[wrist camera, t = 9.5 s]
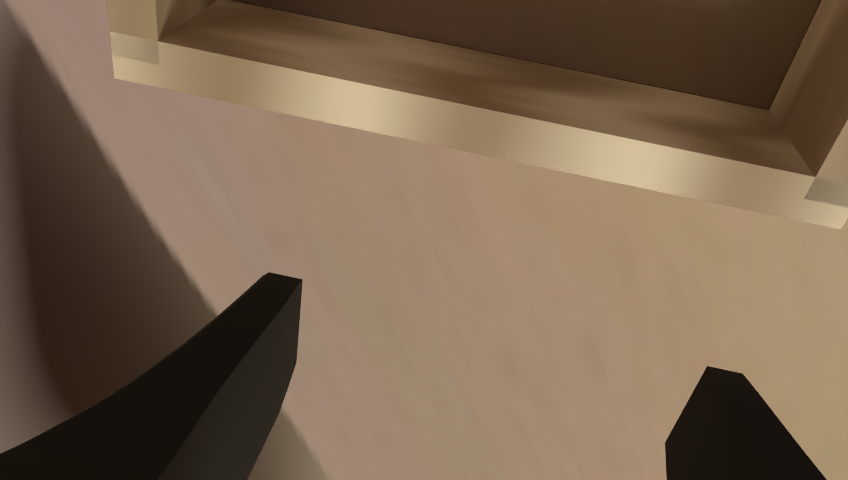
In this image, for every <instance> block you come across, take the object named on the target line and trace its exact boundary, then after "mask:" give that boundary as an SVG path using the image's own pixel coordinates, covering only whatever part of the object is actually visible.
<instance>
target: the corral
mask: <svg viewBox="0 0 848 480" xmlns="http://www.w3.org/2000/svg"><path fill="white" fill-rule="evenodd" d="M107 8H108V18H109V28H110V38H111V48H112V58H113V67H114V77H115V78H116V79H121V80H125V81H130V82H135V83H140V84H145V85H149V86H154V87H159V88H164V89H169V90H173V91H178V92H183V93H188V94H193V95H197V96H202V97H207V98H212V99H217V100H222V101H226V102H231V103H236V104H241V105H246V106H250V107H255V108H260V109H265V110H270V111H274V112H279V113H284V114H289V115H294V116H298V117H303V118H308V119H313V120H318V121H322V122H327V123H332V124H337V125H342V126H346V127H351V128H356V129H361V130H366V131H370V132H375V133H380V134H385V135H390V136H394V137H399V138H404V139H409V140H414V141H419V142H423V143H428V144H433V145H438V146H443V147H447V148H452V149H457V150H462V151H467V152H471V153H476V154H481V155H486V156H491V157H495V158H500V159H505V160H510V161H515V162H519V163H524V164H529V165H534V166H539V167H543V168H548V169H553V170H558V171H563V172H567V173H572V174H577V175H582V176H587V177H591V178H596V179H601V180H606V181H611V182H615V183H620V184H625V185H630V186H635V187H640V188H644V189H649V190H654V191H659V192H664V193H668V194H673V195H678V196H683V197H688V198H692V199H697V200H702V201H707V202H712V203H716V204H721V205H726V206H731V207H736V208H740V209H745V210H750V211H755V212H760V213H764V214H769V215H774V216H779V217H784V218H788V219H793V220H798V221H803V222H808V223H812V224H817V225H822V226H827V227H832V228H837V229H841V228H842V227H843V225H844V223H845V222H846V220H847V218H848V0H822V1H821V3H820V5H819V7H818V9H817V11H816V13H815V15H814V17H813V20H812V22H811V24H810V26H809V28H808V30H807V32H806V34H805V36H804V38H803V40H802V42H801V45H800V47H799V49H798V51H797V53H796V55H795V57H794V59H793V61H792V63H791V65H790V68H789V70H788V72H787V74H786V76H785V78H784V80H783V82H782V84H781V86H780V88H779V90H778V93H777V95H776V97H775V99H774V101H773V103H772V105H771V107H770V109H769V110H765V109H760V108H755V107H750V106H745V105H740V104H736V103H731V102H726V101H721V100H716V99H711V98H706V97H701V96H696V95H692V94H687V93H682V92H677V91H672V90H667V89H662V88H657V87H652V86H647V85H643V84H638V83H633V82H628V81H623V80H618V79H613V78H608V77H603V76H599V75H594V74H589V73H584V72H579V71H574V70H569V69H564V68H559V67H555V66H550V65H545V64H540V63H535V62H530V61H525V60H520V59H515V58H510V57H506V56H501V55H496V54H491V53H486V52H481V51H476V50H471V49H466V48H462V47H457V46H452V45H447V44H442V43H437V42H432V41H427V40H422V39H418V38H413V37H408V36H403V35H398V34H393V33H388V32H383V31H378V30H374V29H369V28H364V27H359V26H354V25H349V24H344V23H339V22H334V21H329V20H325V19H320V18H315V17H310V16H305V15H300V14H295V13H290V12H285V11H281V10H276V9H271V8H266V7H261V6H256V5H251V4H246V3H241V2H237V1H232V0H107Z"/></svg>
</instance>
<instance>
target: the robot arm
mask: <svg viewBox="0 0 848 480" xmlns="http://www.w3.org/2000/svg"><path fill="white" fill-rule="evenodd" d="M301 292H302V279H298V278H293V277H288V276H284V275H279V274H274V273H270V272H269V273H267V274H265V275H264V276H262V277H261V278H260V279H259V280H258V281H257V282H256V283H254V284H253V285H252V286H251V287H250V288H249V289H248V290H247V291H246V292H245V293H243V294H242V295H241V296H240V297H239V298H238V299H237V300H236V301H234V302H233V303H232V304H231V305H230V306H229V307H228V308H226V309H225V310H224V311H223V312H222V313H221V314H219V315H218V316H217V317H216V318H215V319H214V320H212V321H211V322H210V323H209V324H207V325H206V326H205V327H204V328H202V329H201V330H200V331H199V332H198V333H196V334H195V335H194V336H192V337H191V338H190V339H189V340H188V341H186V342H185V343H184V344H182V345H181V346H180V347H178V348H177V349H176V350H174V351H173V352H171V353H170V354H169V355H167V356H166V357H165V358H163V359H162V360H161V361H160V362H158V363H156V364H155V365H154V366H152V367H151V368H149V369H148V370H147V371H145V372H144V373H142V374H141V375H140V376H138V377H137V378H135V379H134V380H132V381H131V382H129V383H128V384H126V385H125V386H123V387H122V388H120V389H118V390H117V391H115V392H114V393H112V394H110V395H109V396H107V397H105V398H104V399H102V400H101V401H99V402H97V403H96V404H94V405H92V406H91V407H89V408H87V409H86V410H84V411H82V412H80V413H78V414H77V415H75V416H73V417H71V418H69V419H68V420H66V421H64V422H62V423H60V424H59V425H57V426H55V427H53V428H51V429H50V430H48V431H46V432H44V433H42V434H40V435H38V436H36V437H34V438H32V439H30V440H28V441H26V442H25V443H22V444H20V445H18V446H16V447H14V448H12V449H10V450H8V451H5V452H3V453H1V454H0V480H247V479H248V477H249V475H250V473H251V471H252V469H253V466H254V464H255V462H256V460H257V458H258V456H259V454H260V452H261V450H262V448H263V446H264V444H265V441H266V439H267V437H268V435H269V433H270V431H271V429H272V427H273V425H274V423H275V420H276V418H277V416H278V414H279V412H280V409H281V406H282V403H283V400H284V397H285V395H286V392H287V389H288V386H289V383H290V380H291V377H292V374H293V371H294V368H295V365H296V359H297V346H298V333H299V319H300V306H301ZM665 450H666V473H667V480H826V478H825V477H824V476H823V475H822V473H821V472H820V471H819V470H818V468H817V467H816V466H815V465H814V464H813V462H812V461H811V460H810V459H809V457H808V456H807V455H806V454H805V452H804V451H803V450H802V448H801V447H800V446H799V445H798V443H797V442H796V441H795V440H794V438H793V437H792V436H791V434H790V433H789V432H788V431H787V429H786V428H785V427H784V425H783V424H782V423H781V422H780V420H779V419H778V418H777V416H776V415H775V414H774V413H773V411H772V410H771V409H770V407H769V406H768V405H767V404H766V402H765V401H764V400H763V398H762V397H761V396H760V395H759V393H758V392H757V391H756V390H755V388H754V387H753V386H752V385H751V383H750V382H749V381H748V380H747V379H746V377H745V376H744V375H743V374H742V373H737V372H732V371H728V370H723V369H718V368H714V367H709V366H707V368H706V369H705V371H704V373H703V375H702V377H701V379H700V380H699V382H698V384H697V386H696V388H695V389H694V391H693V393H692V395H691V397H690V399H689V400H688V402H687V404H686V406H685V408H684V409H683V411H682V413H681V415H680V417H679V419H678V420H677V422H676V424H675V426H674V428H673V429H672V431H671V433H670V435H669V437H668V439H667V440H666V442H665Z"/></svg>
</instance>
